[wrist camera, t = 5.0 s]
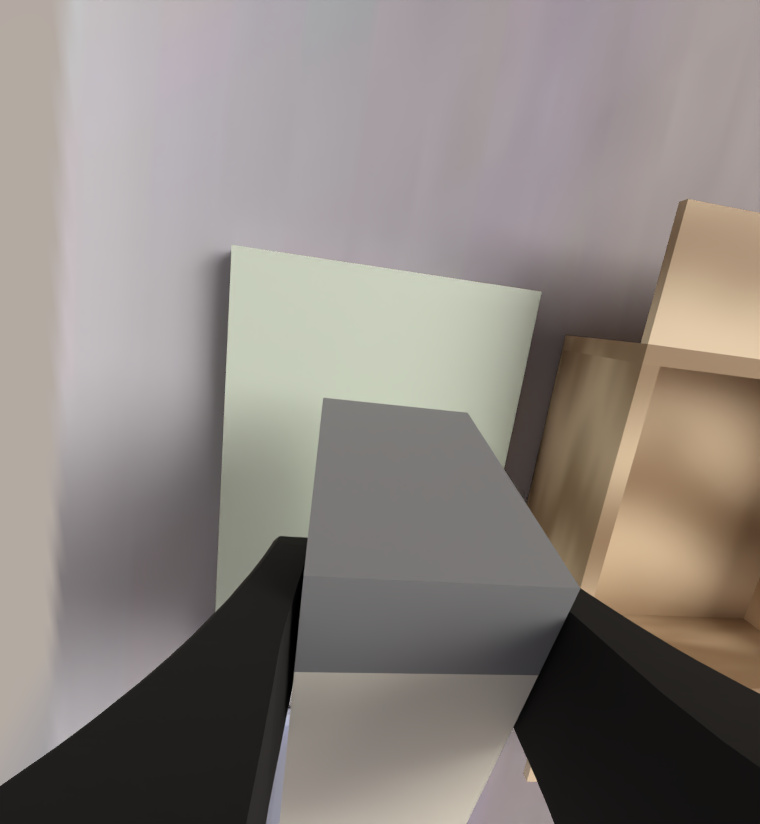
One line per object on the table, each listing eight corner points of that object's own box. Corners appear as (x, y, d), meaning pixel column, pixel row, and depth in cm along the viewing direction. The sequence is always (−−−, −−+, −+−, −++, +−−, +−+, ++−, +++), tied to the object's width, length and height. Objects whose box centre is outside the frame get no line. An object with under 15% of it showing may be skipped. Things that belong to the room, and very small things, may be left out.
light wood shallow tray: (716, 684, 22) (809, 774, 18) (486, 681, 20) (526, 781, 16) (873, 279, 17) (1051, 269, 13) (590, 229, 16) (688, 199, 11)
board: (458, 637, 20) (464, 653, 19) (219, 631, 18) (213, 648, 17) (529, 293, 16) (541, 291, 15) (238, 249, 15) (231, 245, 14)
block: (414, 613, 15) (456, 843, 9) (302, 609, 14) (276, 851, 9) (467, 412, 11) (580, 588, 6) (323, 397, 11) (303, 576, 5)
